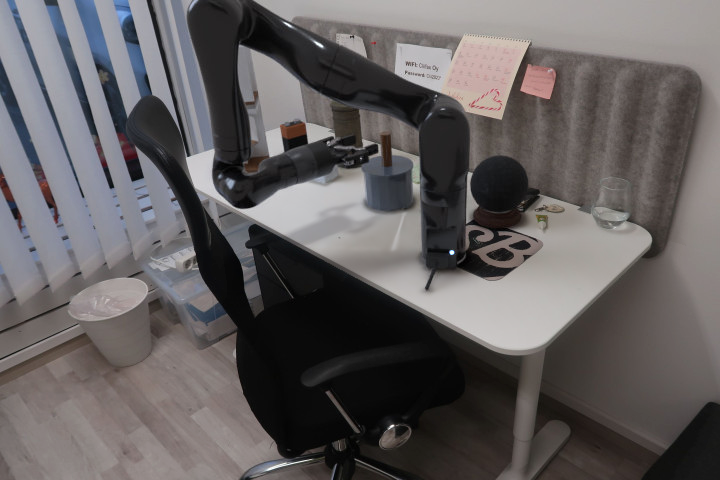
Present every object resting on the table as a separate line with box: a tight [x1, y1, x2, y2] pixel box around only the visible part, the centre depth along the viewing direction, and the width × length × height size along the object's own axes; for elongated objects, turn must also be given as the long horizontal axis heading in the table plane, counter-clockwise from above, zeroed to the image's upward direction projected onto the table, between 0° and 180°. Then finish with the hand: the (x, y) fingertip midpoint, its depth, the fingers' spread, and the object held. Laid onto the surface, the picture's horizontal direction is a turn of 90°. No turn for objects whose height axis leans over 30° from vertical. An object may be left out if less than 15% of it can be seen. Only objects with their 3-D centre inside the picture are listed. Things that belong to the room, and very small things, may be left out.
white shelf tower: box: [238, 45, 271, 175], centre depth 153 cm, size 11×11×35 cm
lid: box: [360, 130, 414, 178], centre depth 133 cm, size 13×13×9 cm
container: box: [329, 100, 364, 169], centre depth 159 cm, size 9×9×18 cm
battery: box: [279, 118, 309, 153], centre depth 170 cm, size 4×7×10 cm, turn 129°
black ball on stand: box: [469, 154, 529, 230], centre depth 128 cm, size 13×13×15 cm
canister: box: [363, 169, 414, 212], centre depth 138 cm, size 12×12×10 cm
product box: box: [313, 165, 339, 184], centre depth 153 cm, size 6×6×7 cm
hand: (366, 143), depth 128 cm, fingers open, 8 cm apart
